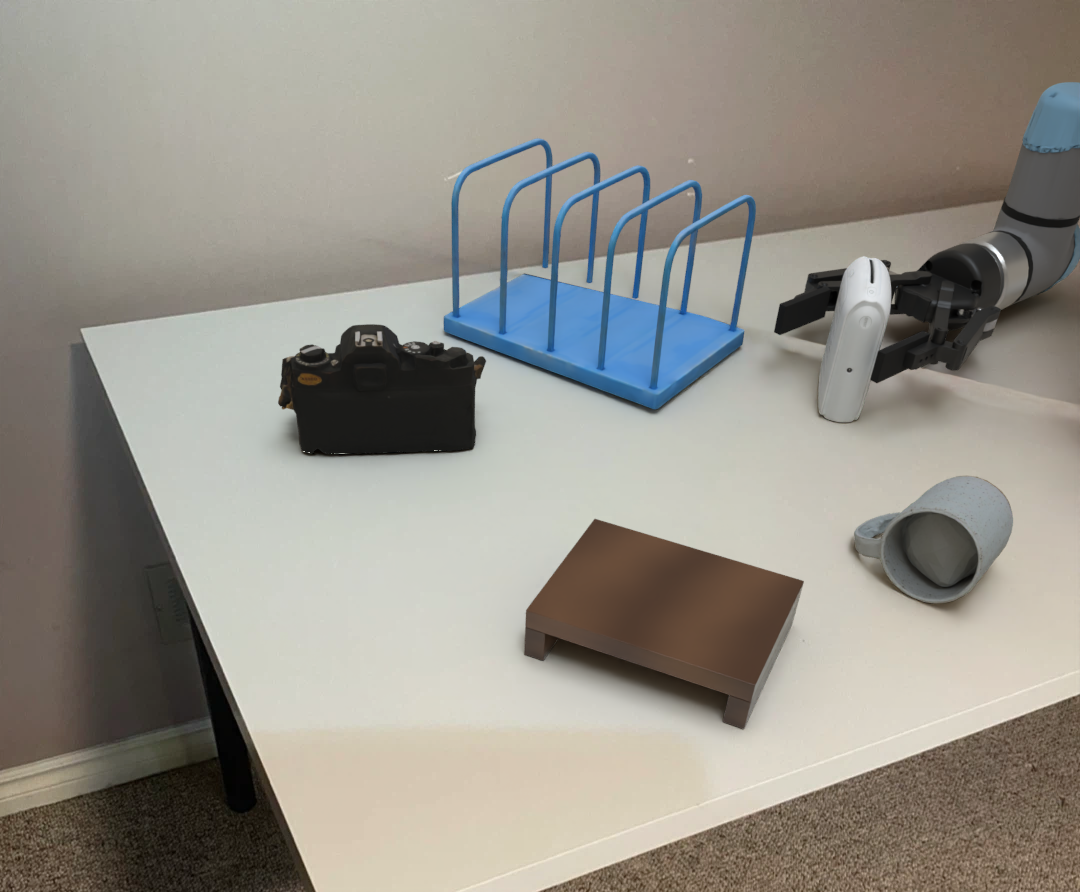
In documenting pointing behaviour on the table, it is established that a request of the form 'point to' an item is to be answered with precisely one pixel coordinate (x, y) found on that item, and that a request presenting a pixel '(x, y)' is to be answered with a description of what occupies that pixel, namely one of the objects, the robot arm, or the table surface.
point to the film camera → (381, 394)
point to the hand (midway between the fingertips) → (827, 342)
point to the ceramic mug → (940, 539)
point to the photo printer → (854, 339)
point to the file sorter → (598, 301)
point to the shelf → (668, 611)
